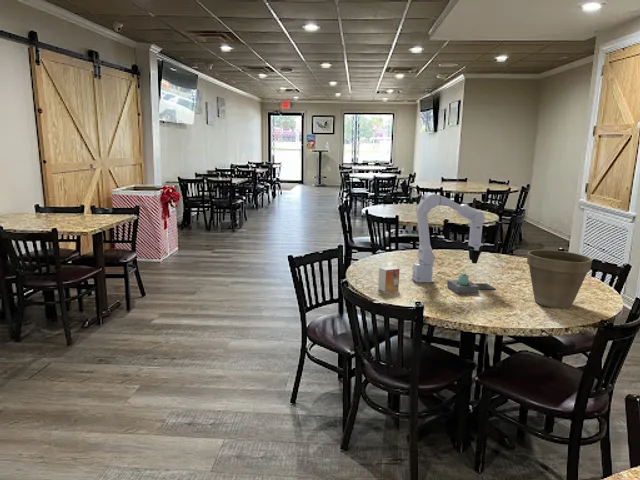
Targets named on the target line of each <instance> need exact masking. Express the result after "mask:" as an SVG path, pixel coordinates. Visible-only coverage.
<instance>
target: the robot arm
mask: <svg viewBox="0 0 640 480" xmlns="http://www.w3.org/2000/svg"><path fill="white" fill-rule="evenodd" d="M437 206H446V207H448V208H450V209H453V210H455V211H456V213H457V214H458V216H461V217H462V218H465V219H467V220H469V221H470V225H469V237H468V243H467V244H468V245H466V247H467V250H468V256H469V261H471V264H475V265H476V264H477V263H478V261H479V258H480V255H481V253H482V251H483V250H481V249H480V247H483V246H484V243H482V234H483V233H482V232H483V225H484V224H483V223H484V222H485V221H486V217H485V214H484V213H483V212H482V211H478V209H477V208H473V207H472V206H470V205H469V204H468V203H465V204H464V203H461V204H459V203H457V202H455V201H453V200H452V199H450V198H448V197H445V196H442V195H439V194H438V193H437V194H436V193H433V192H430V191H428V192H425V193H424V194H422V196H421V197H420V201H419V203H418V205H417V208H416V210H415V211H416V218H417V231H418V237H419V238H418V239H419V241H418V242H419V246H418V251H417V258H418V261H417V263H413V265H412V277H411V279H412V280H413V281H414V282H415V283H435V282H436V281H435V280H434V279H433V270H434V269H433V267H434V261H435V258H436V257H435V254H434V252H433V248H432V246H431V239H430V238H431V237H430V229H429V218H428V214H429V213H430V211H432V210H433V209H434V208H436V207H437Z"/></svg>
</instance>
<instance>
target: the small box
mask: <svg viewBox="0 0 640 480" xmlns="http://www.w3.org/2000/svg"><path fill="white" fill-rule="evenodd" d="M400 270H401V269H400V268H399V267H395V266H393V265H392V266H384V267H379V268H378V285H377V288H378V290H380V291H382V292H384V293H386V292H395V291H399V284H400Z"/></svg>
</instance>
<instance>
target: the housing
mask: <svg viewBox="0 0 640 480" xmlns="http://www.w3.org/2000/svg"><path fill="white" fill-rule="evenodd" d="M476 284H477V283H473V282H472V281H470V280H469V279H468V285H461V284H458V279H448V280H447V286H446V287H447V288H448V289H450V290H451V291H453V292H454V293H455V294H457V295H479V291H480V290H479V286H477V285H476Z"/></svg>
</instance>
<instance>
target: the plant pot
mask: <svg viewBox="0 0 640 480" xmlns="http://www.w3.org/2000/svg"><path fill="white" fill-rule="evenodd" d="M526 253H527V256H526V264H527V265H528V266H529V273H530V281H531V286H532V287H531V288H532V293H533V294H532V295H533V299H534V301H535V303H537V304H539V305H542V306H545V307H548V308H553V309H568V308H571V307H572V305H573V304H574V302H575V299H576V297H577V296H578V293H579V291H580V289H581V287H582V284H583V283H584V280H585V278H586V276H587V275H588V274H587V273H589V272H590V271H591V268H592V263H593V259H592V258H591V257H589V256H586V255H583V254H580V253H576V252H575V253H574V252H570V251H564V250H563V251H562V250H554V249H533V250H532V249H531V250H529V251H528V252H526Z"/></svg>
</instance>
